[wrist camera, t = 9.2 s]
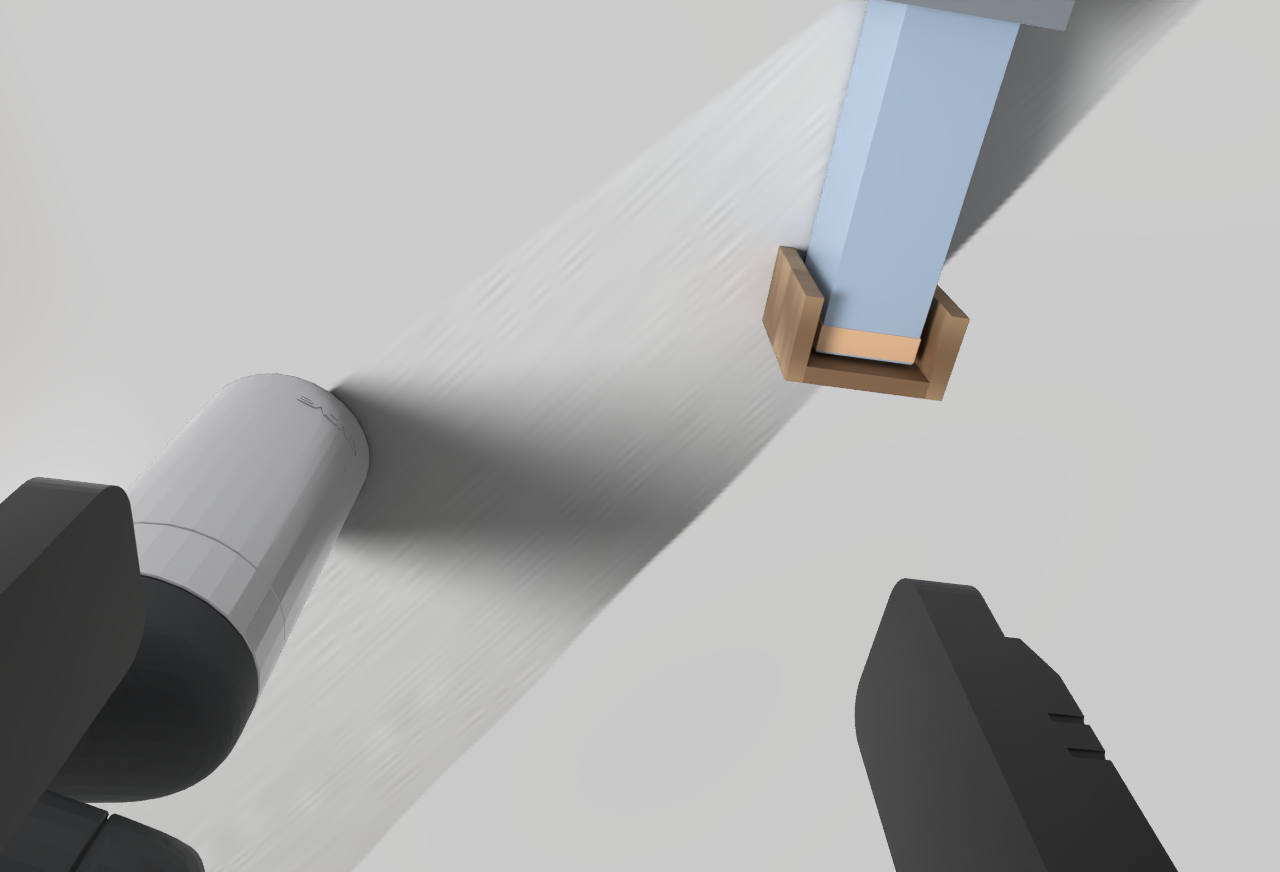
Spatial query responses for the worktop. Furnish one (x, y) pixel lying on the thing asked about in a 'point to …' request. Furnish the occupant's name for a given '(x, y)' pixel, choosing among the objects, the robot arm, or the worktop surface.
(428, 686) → the worktop surface
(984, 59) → the tan-tipped blue bar
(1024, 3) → the blue-gray block
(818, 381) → the socket
